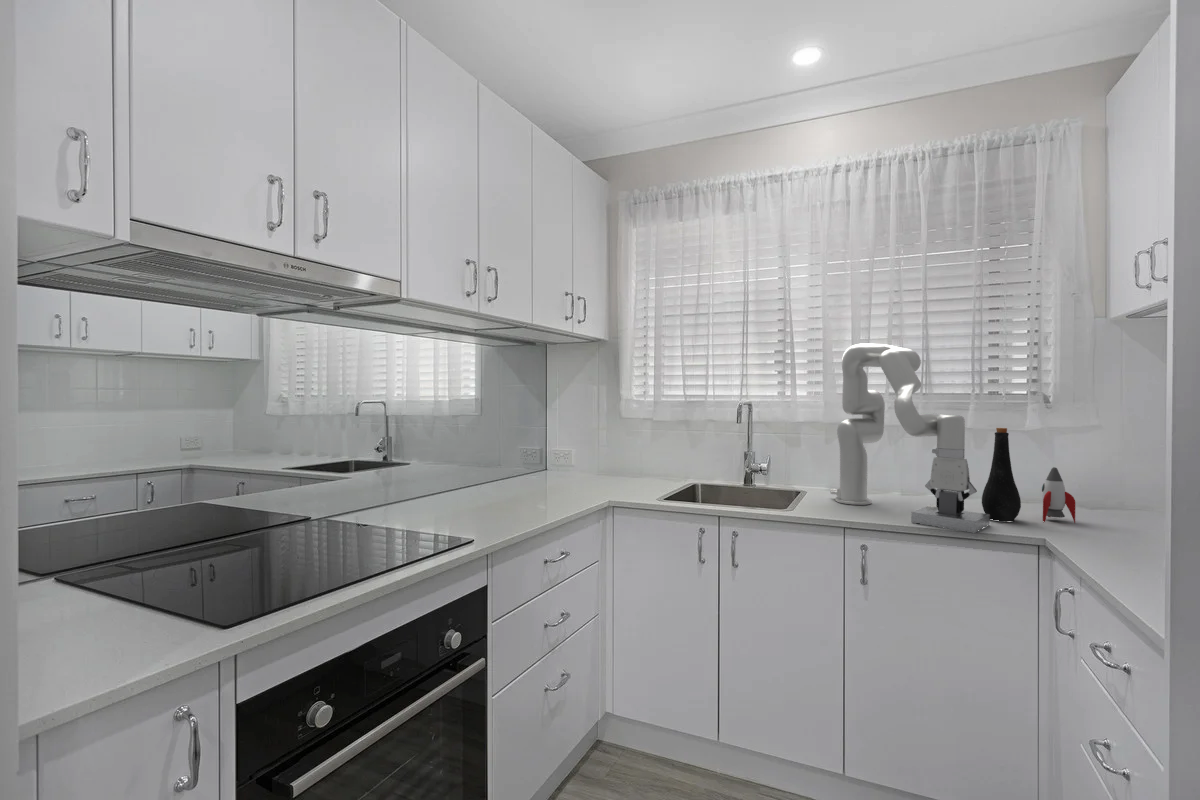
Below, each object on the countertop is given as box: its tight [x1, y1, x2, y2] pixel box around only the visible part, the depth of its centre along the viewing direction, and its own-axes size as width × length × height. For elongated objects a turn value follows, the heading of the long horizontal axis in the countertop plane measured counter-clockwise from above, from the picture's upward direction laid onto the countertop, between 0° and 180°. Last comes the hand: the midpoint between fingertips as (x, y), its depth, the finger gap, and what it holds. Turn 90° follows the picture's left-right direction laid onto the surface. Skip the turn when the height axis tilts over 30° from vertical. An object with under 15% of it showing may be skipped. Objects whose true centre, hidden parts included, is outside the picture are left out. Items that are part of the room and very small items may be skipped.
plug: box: [939, 490, 961, 516], centre depth 187 cm, size 5×7×8 cm, turn 132°
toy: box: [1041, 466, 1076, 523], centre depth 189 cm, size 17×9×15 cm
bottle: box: [981, 427, 1022, 522], centre depth 192 cm, size 11×11×30 cm
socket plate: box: [910, 504, 991, 534], centre depth 186 cm, size 18×14×4 cm
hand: (950, 510), depth 186 cm, fingers closed on plug, 4 cm apart
